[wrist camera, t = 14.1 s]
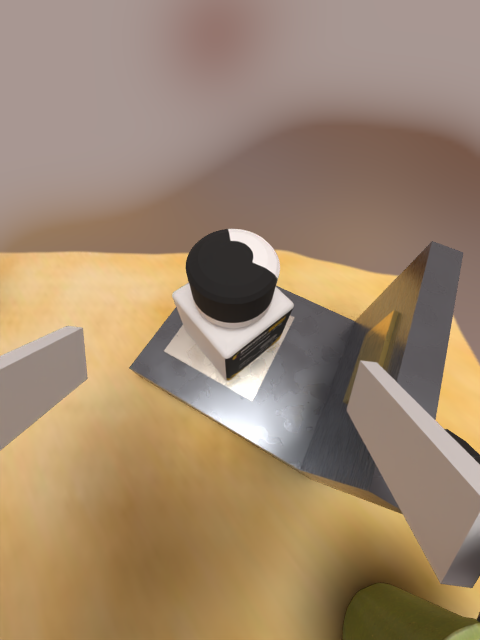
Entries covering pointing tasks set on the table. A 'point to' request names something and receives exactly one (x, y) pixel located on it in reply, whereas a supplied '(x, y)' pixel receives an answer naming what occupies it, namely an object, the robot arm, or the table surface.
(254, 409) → the bookend
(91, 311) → the table surface
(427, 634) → the plant pot
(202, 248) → the medicine bottle
